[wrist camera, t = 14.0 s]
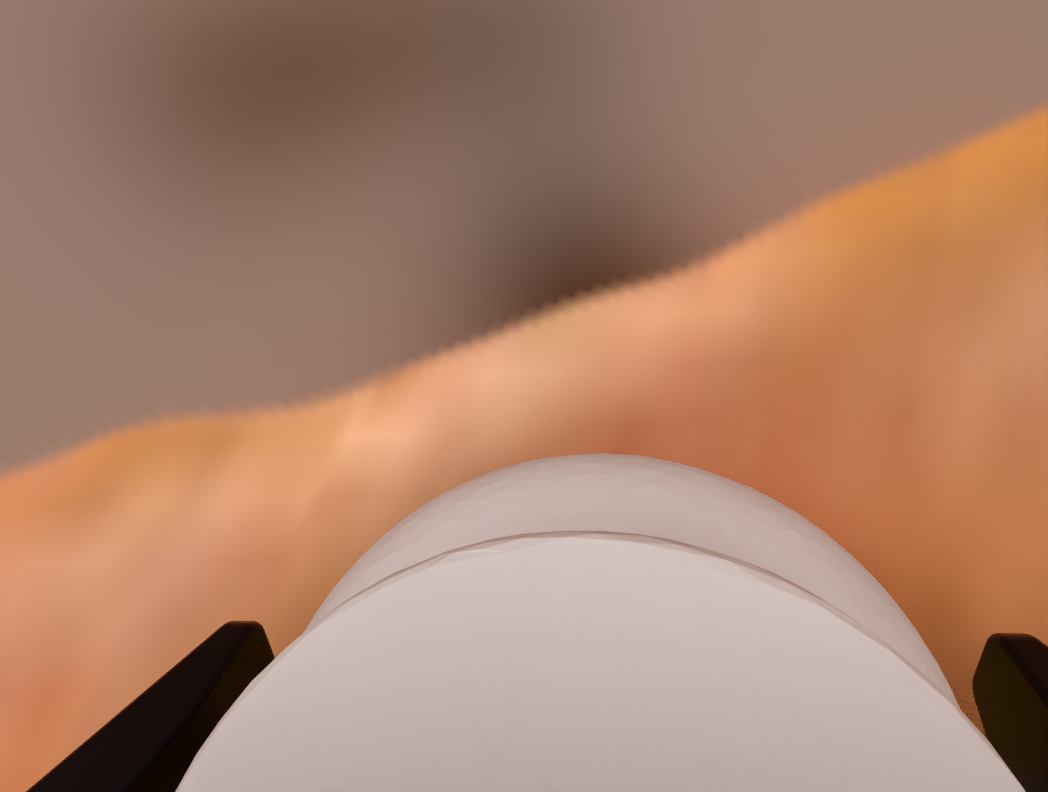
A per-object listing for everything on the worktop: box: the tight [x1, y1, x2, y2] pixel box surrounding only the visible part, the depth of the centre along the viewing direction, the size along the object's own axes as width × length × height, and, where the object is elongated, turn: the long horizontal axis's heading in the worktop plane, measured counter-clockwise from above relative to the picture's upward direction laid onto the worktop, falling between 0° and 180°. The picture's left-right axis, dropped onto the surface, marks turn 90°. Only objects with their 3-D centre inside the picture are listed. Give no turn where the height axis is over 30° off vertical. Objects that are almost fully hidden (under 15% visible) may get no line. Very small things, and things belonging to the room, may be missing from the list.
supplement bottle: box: [176, 453, 1026, 792], centre depth 9 cm, size 7×7×13 cm
